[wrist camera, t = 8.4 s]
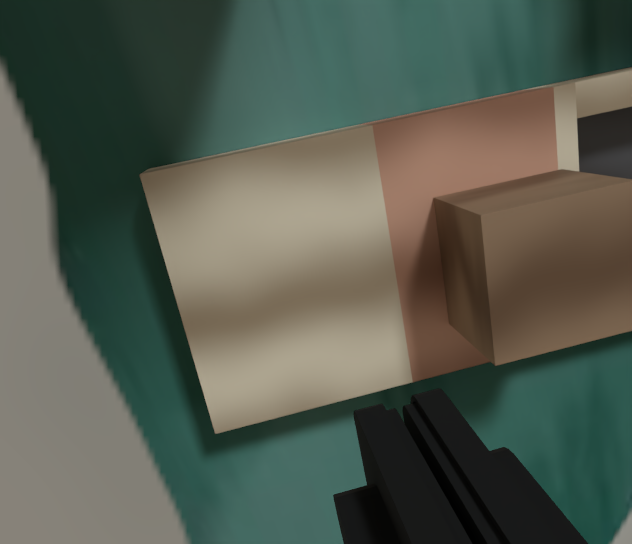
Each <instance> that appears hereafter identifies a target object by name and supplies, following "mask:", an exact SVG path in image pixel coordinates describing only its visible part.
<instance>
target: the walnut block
mask: <svg viewBox="0 0 632 544" xmlns="http://www.w3.org/2000/svg"><path fill="white" fill-rule="evenodd" d="M434 205H435V214H436V222H437V230H438V238H439V246H440V254H441V262H442V270H443V279H444V287H445V295H446V303H447V311H448V319H449V324H450V325H451V326H452V327H453V328H454V329H455V330H456V331H458V332H459V333H460V334H461V335H462V336H463V337H464V338H465V339H466V340H467V341H469V342H470V343H471V344H472V345H473V346H474V347H475V348H476V349H477V350H478V351H480V352H481V353H482V354H483V355H484V356H485V357H486V358H487V359H488V360H489V361H490V362H492V363H493V364H494V365H495V366H497V365H501V364H505V363H509V362H512V361H516V360H520V359H524V358H528V357H532V356H536V355H540V354H543V353H547V352H551V351H555V350H559V349H563V348H567V347H571V346H574V345H578V344H582V343H586V342H590V341H594V340H598V339H602V338H605V337H609V336H613V335H617V334H621V333H625V332H629V331H632V179H626V178H619V177H612V176H605V175H599V174H592V173H585V172H578V171H571V170H565V169H560V170H556V171H551V172H546V173H542V174H537V175H533V176H528V177H524V178H519V179H515V180H510V181H506V182H501V183H497V184H492V185H488V186H483V187H479V188H474V189H470V190H465V191H461V192H456V193H452V194H447V195H443V196H438V197H434Z"/></svg>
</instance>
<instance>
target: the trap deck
mask: <svg viewBox="0 0 632 544" xmlns="http://www.w3.org/2000/svg"><path fill="white" fill-rule="evenodd" d="M560 169H565V170H571V171H578V172H585V173H592V174H599V175H605V176H612V177H619V178H626V179H632V67H630V68H625V69H620V70H615V71H611V72H606V73H601V74H596V75H592V76H587V77H582V78H577V79H573V80H568V81H563V82H558V83H554V84H549V85H544V86H539V87H535V88H530V89H525V90H520V91H516V92H511V93H506V94H501V95H497V96H492V97H487V98H482V99H478V100H473V101H468V102H463V103H459V104H454V105H449V106H444V107H440V108H435V109H430V110H425V111H421V112H416V113H411V114H406V115H402V116H397V117H392V118H387V119H383V120H378V121H373V122H368V123H364V124H359V125H354V126H349V127H345V128H340V129H335V130H330V131H326V132H321V133H316V134H312V135H307V136H302V137H297V138H293V139H288V140H283V141H278V142H274V143H269V144H264V145H259V146H255V147H250V148H245V149H240V150H236V151H231V152H226V153H221V154H217V155H212V156H207V157H202V158H198V159H193V160H188V161H183V162H179V163H174V164H169V165H164V166H160V167H155V168H150V169H147V170H146V171H144V172H143V173H141V174H139V175H140V178H141V182H142V185H143V189H144V192H145V195H146V199H147V202H148V206H149V209H150V212H151V216H152V219H153V223H154V226H155V230H156V233H157V236H158V240H159V243H160V247H161V250H162V254H163V257H164V260H165V264H166V267H167V271H168V274H169V277H170V281H171V284H172V288H173V291H174V295H175V298H176V301H177V305H178V308H179V312H180V315H181V318H182V322H183V325H184V329H185V332H186V336H187V339H188V342H189V346H190V349H191V353H192V356H193V360H194V363H195V366H196V370H197V373H198V377H199V380H200V383H201V387H202V390H203V394H204V397H205V401H206V404H207V407H208V411H209V414H210V418H211V421H212V424H213V428H214V431H215V434H218V433H221V432H225V431H229V430H233V429H237V428H240V427H244V426H248V425H252V424H256V423H259V422H263V421H267V420H271V419H275V418H278V417H282V416H286V415H290V414H294V413H297V412H301V411H305V410H309V409H313V408H316V407H320V406H324V405H328V404H332V403H336V402H339V401H343V400H347V399H351V398H355V397H358V396H362V395H366V394H370V393H374V392H377V391H381V390H385V389H389V388H393V387H396V386H400V385H404V384H408V383H412V382H415V381H419V380H423V379H427V378H431V377H434V376H438V375H442V374H446V373H450V372H453V371H457V370H461V369H465V368H469V367H473V366H476V365H480V364H484V363H488V362H490V361H489V360H488V359H487V358H486V357H485V356H484V355H483V354H482V353H481V352H480V351H478V350H477V349H476V348H475V347H474V346H473V345H472V344H471V343H470V342H469V341H467V340H466V339H465V338H464V337H463V336H462V335H461V334H460V333H459V332H458V331H456V330H455V329H454V328H453V327H452V326H451V325H450V324H449V319H448V311H447V303H446V295H445V287H444V279H443V270H442V262H441V254H440V246H439V238H438V230H437V222H436V214H435V205H434V197H438V196H443V195H447V194H452V193H456V192H461V191H465V190H470V189H474V188H479V187H483V186H488V185H492V184H497V183H501V182H506V181H510V180H515V179H519V178H524V177H528V176H533V175H537V174H542V173H546V172H551V171H556V170H560Z"/></svg>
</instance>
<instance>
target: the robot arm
mask: <svg viewBox="0 0 632 544" xmlns="http://www.w3.org/2000/svg"><path fill="white" fill-rule="evenodd" d="M403 416H404V422H405V424H404V422H403V420H402V419H401V417H400V415H399V413H398V412H397V410H396V409H395V408H394V409H391V410H387V411H386V409H385V407H384V405H383V404H378V405H374V406H371V407H367V408H363V409H359V410H355V411H354V420H355V425H356V430H357V435H358V440H359V446H360V451H361V456H362V461H363V466H364V471H365V476H366V482H367V486H363V487H359V488H356V489H352V490H349V491H345V492H342V493H338V494H334V495H333V496H334V502H335V507H336V511H337V516H338V520H339V525H340V529H341V533H342V537H343V542H344V544H588V543H587V542H586V541H585V539H584V538H583V537H582V536H581V535H580V533H579V532H578V531H577V530H576V528H575V527H574V526H573V525H572V524H571V522H570V521H569V520H568V519H567V518H566V516H565V515H564V514H563V513H562V512H561V510H560V509H559V508H558V507H557V506H556V504H555V503H554V502H553V501H552V500H551V498H550V497H549V496H548V495H547V493H546V492H545V491H544V490H543V489H542V487H541V486H540V485H539V484H538V483H537V481H536V480H535V479H534V478H533V477H532V475H531V474H530V473H529V472H528V471H527V469H526V468H525V467H524V466H523V464H522V463H521V462H520V461H519V460H518V458H517V457H516V456H515V455H514V454H513V453H512V452H511V451H510V450H509V449H507V448H505V447H503V448H499V449H495V450H492V451H489V450H488V449H487V448H486V446H485V445H484V444H483V442H482V441H481V440H480V438H479V437H478V436H477V434H476V433H475V432H474V431H473V429H472V428H471V427H470V425H469V424H468V423H467V421H466V420H465V419H464V417H463V416H462V415H461V414H460V412H459V411H458V410H457V408H456V407H455V406H454V404H453V403H452V402H451V400H450V399H449V398H448V397H447V395H446V394H445V393H444V391H443V390H442V389H435V390H431V391H427V392H424V393H420V394H416V395H412V396H411V404H409V405H406V406H403Z"/></svg>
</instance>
